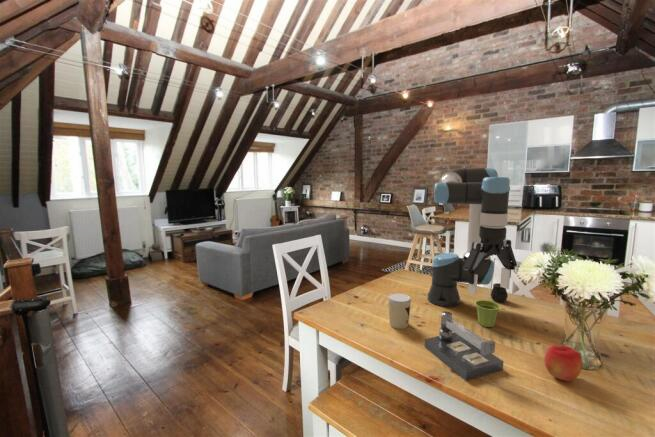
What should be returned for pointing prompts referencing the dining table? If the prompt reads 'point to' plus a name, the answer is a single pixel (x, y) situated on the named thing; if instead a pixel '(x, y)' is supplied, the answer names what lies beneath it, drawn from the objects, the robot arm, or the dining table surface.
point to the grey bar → (466, 334)
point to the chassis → (462, 355)
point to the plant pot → (487, 312)
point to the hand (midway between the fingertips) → (488, 290)
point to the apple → (563, 362)
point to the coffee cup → (399, 310)
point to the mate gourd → (498, 293)
